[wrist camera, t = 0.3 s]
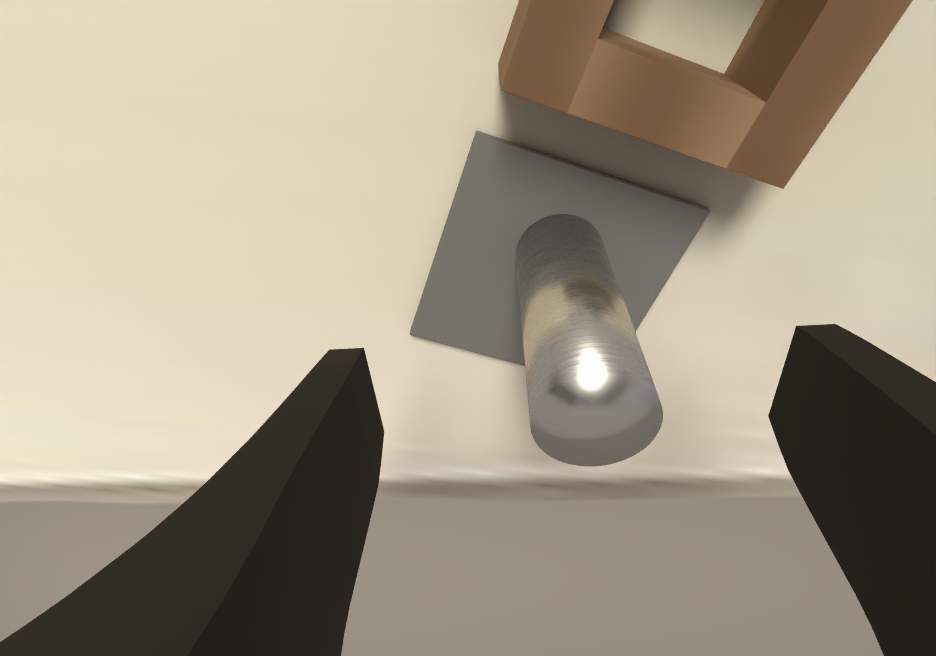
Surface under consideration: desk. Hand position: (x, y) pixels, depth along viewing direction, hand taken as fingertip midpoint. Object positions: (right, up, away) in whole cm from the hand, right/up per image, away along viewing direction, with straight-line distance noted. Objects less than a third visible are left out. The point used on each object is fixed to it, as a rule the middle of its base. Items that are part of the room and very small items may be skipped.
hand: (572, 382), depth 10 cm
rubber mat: (+1, +3, +11) cm, 11 cm away
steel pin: (+1, +3, +10) cm, 10 cm away
